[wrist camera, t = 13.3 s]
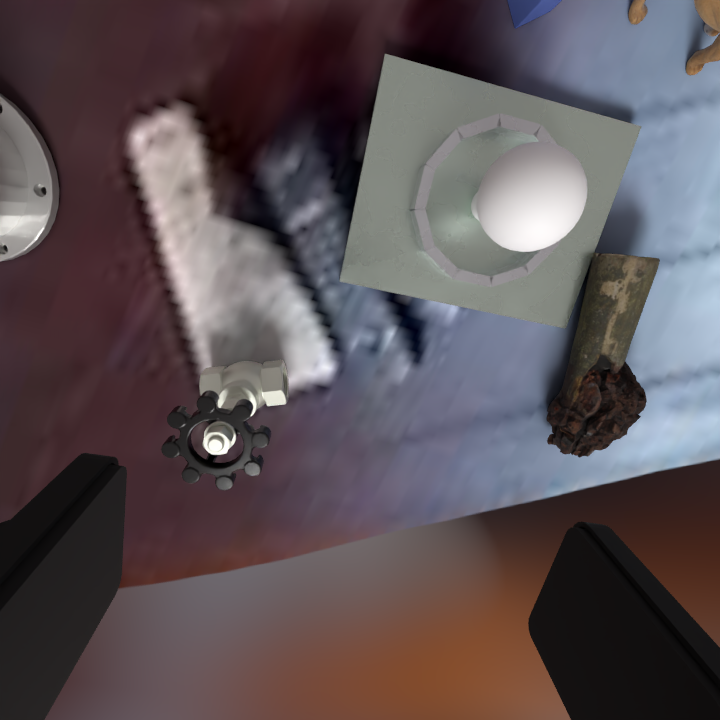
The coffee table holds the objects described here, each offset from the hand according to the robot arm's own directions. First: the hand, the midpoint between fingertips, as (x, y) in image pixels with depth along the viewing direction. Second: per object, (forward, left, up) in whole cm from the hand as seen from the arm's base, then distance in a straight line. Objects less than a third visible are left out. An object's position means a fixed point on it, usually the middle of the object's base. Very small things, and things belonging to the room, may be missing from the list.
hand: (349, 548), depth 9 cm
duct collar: (+10, +10, -28) cm, 32 cm away
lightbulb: (+10, +10, -27) cm, 31 cm away
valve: (-6, -8, -28) cm, 30 cm away
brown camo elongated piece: (+24, 0, -29) cm, 37 cm away
